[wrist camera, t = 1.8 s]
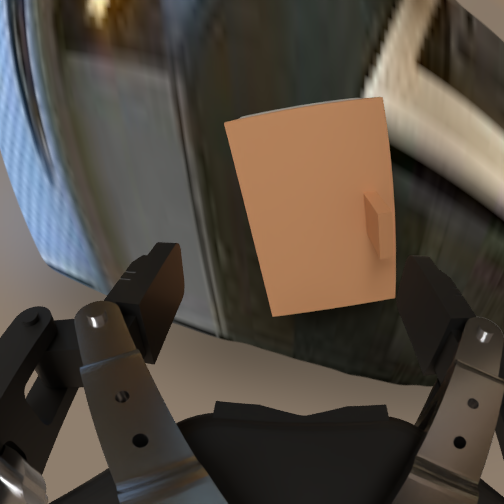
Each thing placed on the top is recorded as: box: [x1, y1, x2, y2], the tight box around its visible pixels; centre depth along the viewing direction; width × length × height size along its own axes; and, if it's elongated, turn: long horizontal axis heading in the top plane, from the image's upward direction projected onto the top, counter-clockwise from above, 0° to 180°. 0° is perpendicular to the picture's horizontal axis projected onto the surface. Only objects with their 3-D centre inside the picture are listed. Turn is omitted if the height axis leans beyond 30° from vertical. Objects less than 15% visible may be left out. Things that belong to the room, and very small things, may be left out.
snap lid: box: [224, 97, 396, 317], centre depth 28 cm, size 14×21×7 cm, turn 13°
